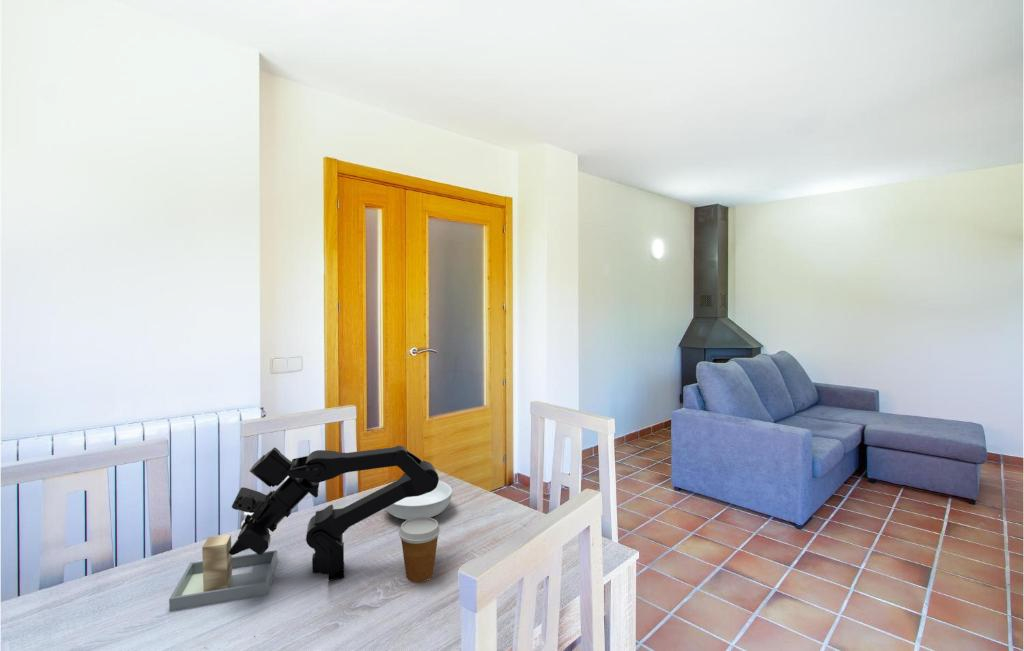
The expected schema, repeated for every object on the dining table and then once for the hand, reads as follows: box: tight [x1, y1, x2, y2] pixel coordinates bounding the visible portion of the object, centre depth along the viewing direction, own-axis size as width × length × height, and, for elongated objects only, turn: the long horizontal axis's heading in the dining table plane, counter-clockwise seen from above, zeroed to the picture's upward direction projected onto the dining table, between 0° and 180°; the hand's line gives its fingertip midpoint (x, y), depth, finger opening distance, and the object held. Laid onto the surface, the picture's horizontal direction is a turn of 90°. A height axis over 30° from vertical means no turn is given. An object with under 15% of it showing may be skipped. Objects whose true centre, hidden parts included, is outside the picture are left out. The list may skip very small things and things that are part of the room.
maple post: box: [201, 534, 233, 592], centre depth 106 cm, size 4×4×10 cm
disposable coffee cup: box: [398, 517, 441, 583], centre depth 113 cm, size 10×10×12 cm
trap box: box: [168, 549, 278, 612], centre depth 107 cm, size 18×14×4 cm
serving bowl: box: [384, 480, 453, 521], centre depth 146 cm, size 21×21×7 cm
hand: (230, 553), depth 107 cm, fingers closed
